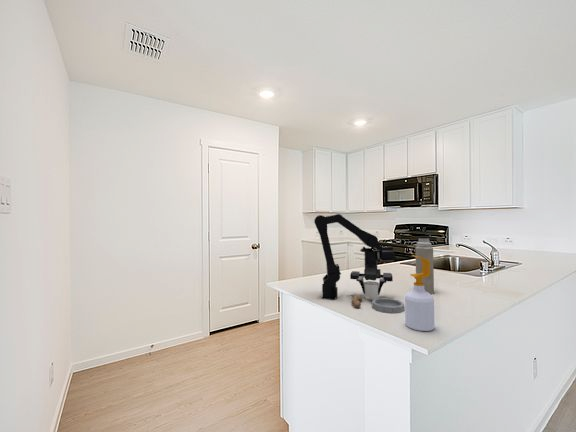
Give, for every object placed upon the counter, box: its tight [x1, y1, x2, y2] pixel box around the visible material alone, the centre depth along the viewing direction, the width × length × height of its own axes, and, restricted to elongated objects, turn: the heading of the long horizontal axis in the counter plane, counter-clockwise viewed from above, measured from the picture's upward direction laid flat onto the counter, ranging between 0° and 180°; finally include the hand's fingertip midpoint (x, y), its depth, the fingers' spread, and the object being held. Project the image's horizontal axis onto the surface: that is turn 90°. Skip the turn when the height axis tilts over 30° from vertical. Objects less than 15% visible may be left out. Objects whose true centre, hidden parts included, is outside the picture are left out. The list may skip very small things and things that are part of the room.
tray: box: [371, 297, 405, 314], centre depth 113 cm, size 12×12×2 cm
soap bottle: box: [404, 254, 436, 332], centre depth 94 cm, size 9×9×25 cm
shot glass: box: [364, 280, 379, 300], centre depth 128 cm, size 7×7×7 cm
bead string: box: [351, 294, 363, 309], centre depth 118 cm, size 11×4×3 cm, turn 161°
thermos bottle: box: [414, 235, 435, 295], centre depth 135 cm, size 8×8×28 cm
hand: (371, 294), depth 128 cm, fingers closed on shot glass, 6 cm apart
